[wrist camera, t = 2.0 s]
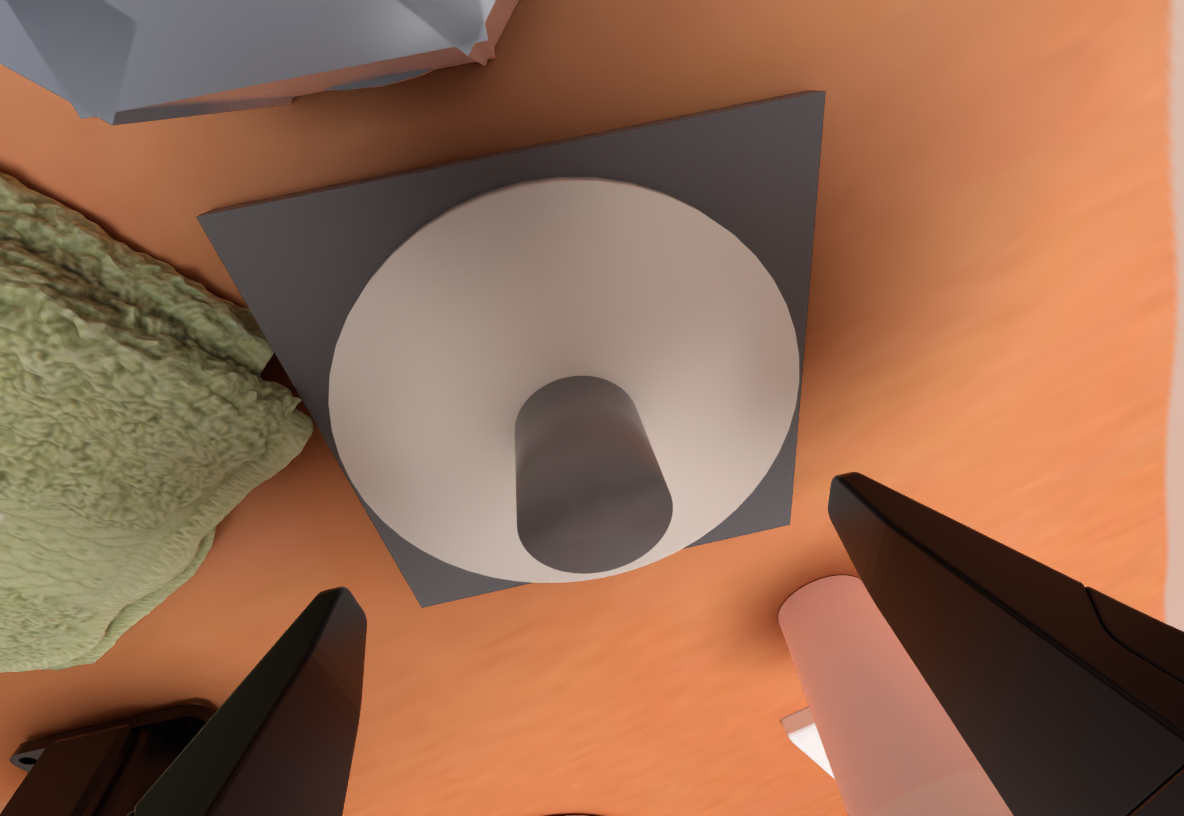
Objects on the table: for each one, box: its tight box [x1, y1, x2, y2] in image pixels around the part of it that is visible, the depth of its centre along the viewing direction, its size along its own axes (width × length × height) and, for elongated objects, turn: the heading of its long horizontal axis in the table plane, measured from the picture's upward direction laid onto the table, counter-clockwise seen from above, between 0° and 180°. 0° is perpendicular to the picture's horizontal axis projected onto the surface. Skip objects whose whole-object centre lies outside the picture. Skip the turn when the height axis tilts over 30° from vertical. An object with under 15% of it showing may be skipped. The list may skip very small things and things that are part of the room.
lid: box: [328, 177, 799, 583], centre depth 11 cm, size 11×11×4 cm
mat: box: [197, 90, 826, 608], centre depth 13 cm, size 12×12×1 cm
